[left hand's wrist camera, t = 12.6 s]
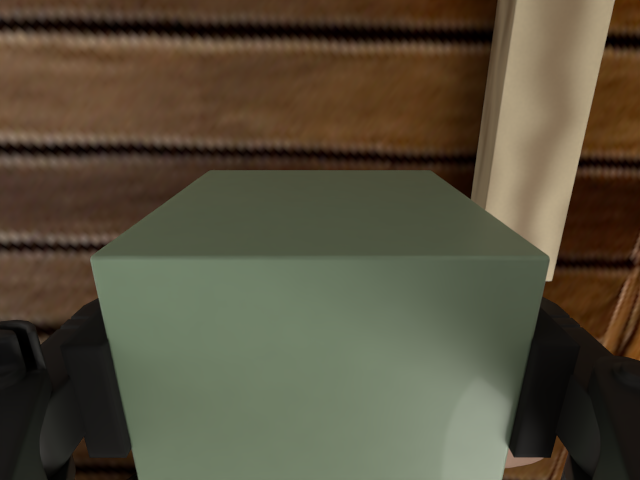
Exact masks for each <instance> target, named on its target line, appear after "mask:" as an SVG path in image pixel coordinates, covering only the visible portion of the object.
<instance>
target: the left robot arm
mask: <svg viewBox="0 0 640 480" xmlns="http://www.w3.org/2000/svg"><path fill="white" fill-rule="evenodd" d="M556 436H558V437H559V439H560V440H561V442H562V443H563V444H564V446H565V447H566V449H567V450H568V456H567V459H566V463H565V466H564V470H563V473H562V477H561V480H640V361H639V360H635V359H632V358H628V357H621V356H614V355H613V354H611V353H610V352H609V351H608V350H607V349H606V348H605V347H604V346H603V345H601V344H600V343H599V342H598V341H597V340H596V339H595V338H594V337H593V336H591V335H590V334H589V333H588V332H587V331H586V330H585V329H584V328H580V325H579V324H578V323H577V322H576V321H575V320H574V319H573V318H570V317H569V315H568V314H567V313H566V312H565V311H564V310H563V309H562V308H560V307H559V306H558V305H557V304H555V303H553V302H551V301H550V300H548V299H546V298H544V297H542V299H541V304H540V308H539V313H538V317H537V322H536V327H535V331H534V336H533V339H532V343H531V348H530V352H529V357H528V362H527V366H526V371H525V375H524V380H523V384H522V389H521V394H520V398H519V403H518V407H517V412H516V416H515V421H514V426H513V430H512V435H511V439H510V444H509V449H510V451H511V453H512V455H513V457H514V458H551V454H552V451H553V447H554V443H555V439H556ZM83 437H84V438H85V442H86V446H87V449H88V453H89V457H90V458H126V457H127V455H128V453H129V452H130V450H131V448H132V447H131V443H130V438H129V433H128V429H127V424H126V420H125V415H124V411H123V406H122V401H121V397H120V392H119V388H118V383H117V379H116V374H115V369H114V365H113V360H112V356H111V351H110V346H109V342H108V338H107V334H106V330H105V325H104V320H103V316H102V311H101V307H100V302H99V298H97V299H96V300H94V301H92V302H90V303H88V304H86V305H84V306H83V307H82V308H81V309H80V310H78V311H77V312H76V313H75V314H74V315H73V316H72V317H71V319H69V320H67V321H66V322H65V323H64V324H63V325H62V326H61V329H58V330H56V331H55V332H54V333H53V334H52V335H51V336H50V337H49V338H48V339H47V340H45V341H44V342H43V343H42V344H41V345H40V342H39V338H38V335H37V331H36V328H35V325H34V324H32V323H30V322H29V321H22V320H11V321H1V322H0V480H74V479H75V472H76V470H75V463H74V459H73V456H72V453H73V451H74V450H75V449H76V447H77V446H78V444H79V443H80V441H81V440H82V438H83ZM127 480H138V476H137V474H135V475H133V476H132V477H130V478H129V479H127Z"/></svg>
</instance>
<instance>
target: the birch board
mask: <svg viewBox="0 0 640 480" xmlns="http://www.w3.org/2000/svg"><path fill="white" fill-rule="evenodd" d="M614 1H615V0H498V2H497V9H496V17H495V24H494V32H493V39H492V46H491V54H490V61H489V69H488V76H487V83H486V91H485V98H484V106H483V113H482V120H481V128H480V135H479V143H478V150H477V157H476V165H475V172H474V180H473V187H472V194H471V200H472V201H473V202H475V203H476V204H478V205H479V206H480V207H482V208H483V209H484V210H486V211H487V212H489V213H490V214H491V215H493V216H494V217H495V218H497V219H498V220H500V221H501V222H502V223H504V224H505V225H507V226H508V227H509V228H511V229H512V230H513V231H515V232H516V233H518V234H519V235H520V236H522V237H523V238H525V239H526V240H527V241H529V242H530V243H531V244H533V245H534V246H536V247H537V248H538V249H540V250H541V251H543V252H544V253H545V254H547V255H548V256H549V258H550V263H549V267H548V272H547V276H546V281H552V278H553V273H554V269H555V264H556V260H557V255H558V251H559V247H560V242H561V238H562V233H563V229H564V224H565V220H566V215H567V211H568V206H569V202H570V198H571V193H572V189H573V184H574V180H575V175H576V171H577V166H578V162H579V157H580V153H581V148H582V144H583V140H584V135H585V131H586V126H587V122H588V117H589V113H590V108H591V104H592V99H593V95H594V90H595V86H596V82H597V77H598V73H599V68H600V64H601V59H602V55H603V50H604V46H605V41H606V37H607V32H608V28H609V24H610V19H611V15H612V10H613V6H614Z"/></svg>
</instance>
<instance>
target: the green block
mask: <svg viewBox="0 0 640 480" xmlns="http://www.w3.org/2000/svg"><path fill="white" fill-rule="evenodd" d="M90 261H91V266H92V270H93V275H94V279H95V284H96V288H97V293H98V298H99V302H100V307H101V311H102V316H103V320H104V325H105V330H106V334H107V338H108V342H109V346H110V351H111V356H112V360H113V365H114V369H115V374H116V379H117V383H118V388H119V392H120V397H121V401H122V406H123V411H124V415H125V420H126V424H127V429H128V433H129V438H130V443H131V447H132V453H133V457H134V462H135V467H136V471H137V476H138V480H502V477H503V473H504V468H505V464H506V459H507V454H508V450H509V444H510V439H511V435H512V430H513V426H514V421H515V416H516V412H517V407H518V403H519V398H520V394H521V389H522V384H523V380H524V375H525V371H526V366H527V362H528V357H529V352H530V348H531V343H532V339H533V336H534V331H535V327H536V322H537V317H538V313H539V308H540V304H541V299H542V295H543V290H544V285H545V281H546V276H547V272H548V267H549V263H550V258H549V256H548V255H547V254H545V253H544V252H543V251H541V250H540V249H538V248H537V247H536V246H534V245H533V244H531V243H530V242H529V241H527V240H526V239H525V238H523V237H522V236H520V235H519V234H518V233H516V232H515V231H513V230H512V229H511V228H509V227H508V226H507V225H505V224H504V223H502V222H501V221H500V220H498V219H497V218H495V217H494V216H493V215H491V214H490V213H489V212H487V211H486V210H484V209H483V208H482V207H480V206H479V205H478V204H476V203H475V202H473V201H472V200H471V199H469V198H468V197H466V196H465V195H464V194H462V193H461V192H460V191H458V190H457V189H455V188H454V187H453V186H451V185H450V184H448V183H447V182H446V181H444V180H443V179H442V178H440V177H439V176H437V175H436V174H435V173H433V172H432V171H430V170H210V171H208V172H207V173H206V174H204V175H203V176H201V177H200V178H199V179H197V180H196V181H195V182H193V183H192V184H190V185H189V186H188V187H186V188H185V189H184V190H182V191H181V192H179V193H178V194H177V195H175V196H174V197H172V198H171V199H170V200H168V201H167V202H166V203H164V204H163V205H161V206H160V207H159V208H157V209H156V210H155V211H153V212H152V213H150V214H149V215H148V216H146V217H145V218H143V219H142V220H141V221H139V222H138V223H137V224H135V225H134V226H132V227H131V228H130V229H128V230H127V231H126V232H124V233H123V234H121V235H120V236H119V237H117V238H116V239H114V240H113V241H112V242H110V243H109V244H108V245H106V246H105V247H103V248H102V249H101V250H99V251H98V252H97V253H95V254H94V255H92V256H91V260H90Z"/></svg>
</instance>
